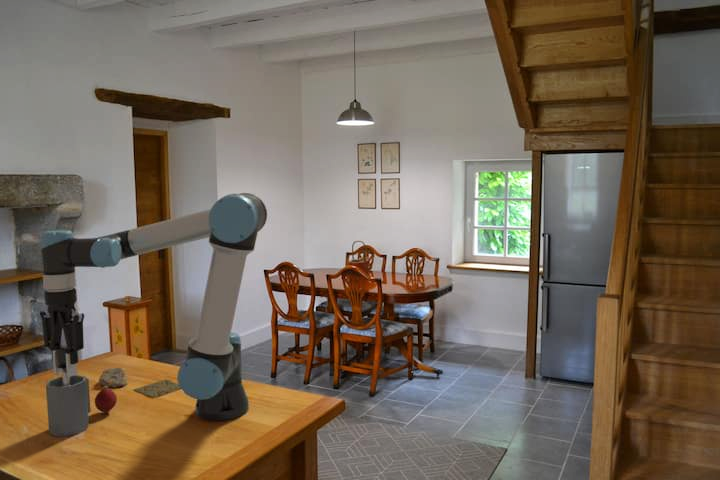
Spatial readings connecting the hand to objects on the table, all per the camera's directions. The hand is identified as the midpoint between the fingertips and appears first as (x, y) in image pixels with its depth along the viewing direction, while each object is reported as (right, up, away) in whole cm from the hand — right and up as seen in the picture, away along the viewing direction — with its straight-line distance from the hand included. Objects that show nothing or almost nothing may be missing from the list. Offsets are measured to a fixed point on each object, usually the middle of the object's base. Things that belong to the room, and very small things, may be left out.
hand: (65, 374), depth 154 cm
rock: (-2, -12, +36) cm, 38 cm away
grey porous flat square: (+14, -13, +31) cm, 36 cm away
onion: (+6, -14, +12) cm, 20 cm away
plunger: (0, -11, +1) cm, 12 cm away
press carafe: (0, -15, +2) cm, 15 cm away
